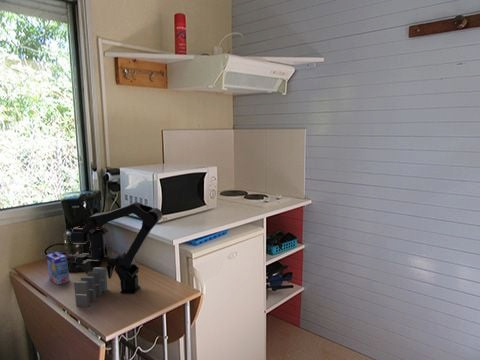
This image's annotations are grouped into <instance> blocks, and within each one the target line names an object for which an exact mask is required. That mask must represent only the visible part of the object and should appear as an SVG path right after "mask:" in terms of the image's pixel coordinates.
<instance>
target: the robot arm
mask: <svg viewBox="0 0 480 360" xmlns="http://www.w3.org/2000/svg"><path fill="white" fill-rule="evenodd" d="M132 214H133V215H135V216H136V217H138V218H139V220H142V223H141V228H140V229H139V231H138V233H137V235H136V236H135V238H134V240H133V242H132V244H131V246H130V247H129V249H128V250H127V251H126V252H124V253H122V254H121V255H120V254H117V253H115V254H112V253H113V246H107V243H105V235H106V234H107V233H108V232H110V231H109V229H107V228H105V227H102V226H104V225H106V224H107V223H109V222H112V221H115V220H118V219H120V218H124V217H126V216H130V215H132ZM162 218H163V212H162V211H161V209H159V208H157V207H152V206H150V205H146V204H143V203H141V202H139V201H135V202H133V203H131V204H127V205H125V206H122V207H119V208H117V209H114V210H111V211H110V210H109V211H104V212H103V211H102V212H95V214H92V215H91V216H89V217H87V218H86V221H85V226H84V228H78V227H79V226H76V227H73V229H72V228H71V229H72V233H71V237H70V241H71V243H73V244H86V243H87V242H88V241H90V247H89V250H91V255H90V254H89V253H82V254H80V255H79V256H77V257H76V258H75V261H74V263H75V265H78V267H81V269H82V270H83V271H84V274H86V275H87V273H88V272H89V271H92V267H91V266H92V265H91V264H92V262H91V261H93V262H106V264H107V265H106V273H107V276H108V277H107V278H108V279H112V276H113V272H115V273H116V275H117V276H118V278H119V279H118V280H119V281H120V282H119V284H120V291H119V292H120V294H136V292H137V291H138V290H140V288H141V285H139V276H138V273H139V270H140V268H139V267H138V265H136V264H135V262H136V259H137V258H136V257H137V255H138V253H139V251H140V250H141V248H142V247H143V245H144V243H145V242H146V240H147V238H148V237H149V235H150V232H151V231H152V230H153V228H154V227H155V226H156V225H157V224H158V223H159V222H160V221H161V219H162ZM99 227H100V229H97V228H99ZM90 230H94V231H90ZM109 254H110V256H108V255H109Z"/></svg>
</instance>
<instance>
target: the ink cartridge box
mask: <svg viewBox="0 0 480 360" xmlns="http://www.w3.org/2000/svg"><path fill="white" fill-rule="evenodd" d="M50 252H51V253H48V254H46V260H47V261H46V262H47V271H48V277H49V278H48V279H49V280H50V281H52V282H53V283H55V284H56V285H58V284H59V285H61V284H64V283H68V282H70V273H69V268H68V267H69V266H68V258H67V255H65V254H62V253H61V252H59V251H56V252H55V251H52V250H50Z"/></svg>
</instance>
